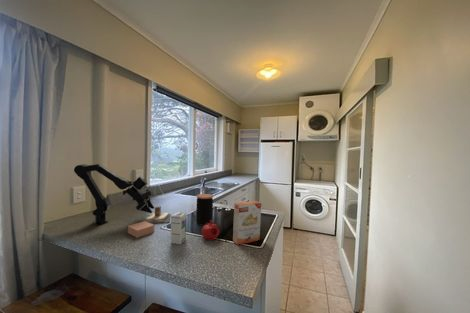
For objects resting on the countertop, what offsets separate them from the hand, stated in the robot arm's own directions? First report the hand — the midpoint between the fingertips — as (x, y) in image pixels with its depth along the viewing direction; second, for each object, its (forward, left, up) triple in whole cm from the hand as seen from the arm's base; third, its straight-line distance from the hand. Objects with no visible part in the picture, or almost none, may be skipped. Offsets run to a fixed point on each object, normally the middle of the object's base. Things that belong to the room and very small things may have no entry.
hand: (152, 210), depth 133 cm
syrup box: (+38, -10, -6) cm, 40 cm away
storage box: (+13, -16, -6) cm, 21 cm away
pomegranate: (+48, +4, -7) cm, 49 cm away
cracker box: (+66, +13, -6) cm, 68 cm away
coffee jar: (+30, +18, -6) cm, 36 cm away
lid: (+2, +2, -5) cm, 6 cm away
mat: (+2, +2, -6) cm, 7 cm away
